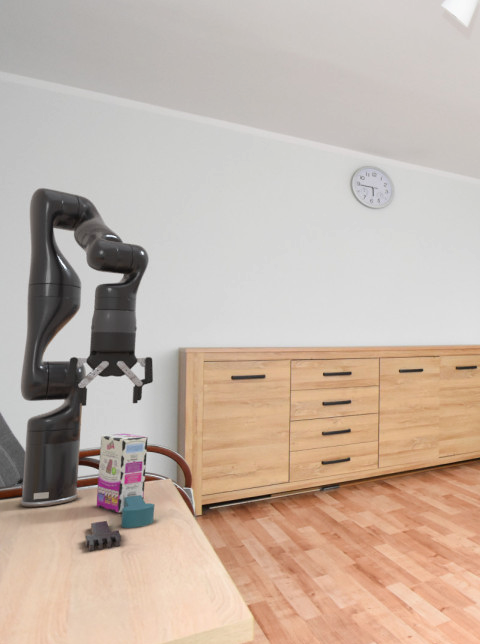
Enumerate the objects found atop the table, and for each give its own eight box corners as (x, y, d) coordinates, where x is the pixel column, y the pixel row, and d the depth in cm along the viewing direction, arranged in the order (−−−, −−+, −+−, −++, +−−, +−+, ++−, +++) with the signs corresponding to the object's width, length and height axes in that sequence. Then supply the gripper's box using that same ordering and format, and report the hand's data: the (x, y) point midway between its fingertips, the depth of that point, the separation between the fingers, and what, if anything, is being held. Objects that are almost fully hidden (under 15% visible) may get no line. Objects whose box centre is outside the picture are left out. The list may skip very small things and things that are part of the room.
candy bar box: (145, 508, 128) (149, 436, 129) (118, 514, 124) (122, 439, 124) (121, 501, 133) (125, 432, 134) (95, 506, 129) (99, 435, 130)
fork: (82, 530, 113) (83, 524, 113) (114, 525, 116) (114, 519, 116) (87, 551, 101) (87, 545, 101) (121, 545, 105) (122, 539, 105)
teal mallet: (116, 514, 123) (117, 498, 123) (146, 510, 127) (147, 494, 127) (122, 529, 114) (123, 511, 114) (155, 524, 117) (156, 507, 117)
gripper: (152, 332, 132) (148, 401, 131) (69, 330, 122) (64, 405, 121) (156, 331, 126) (153, 403, 125) (70, 329, 116) (65, 407, 115)
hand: (109, 404), depth 123 cm, fingers open, 8 cm apart
